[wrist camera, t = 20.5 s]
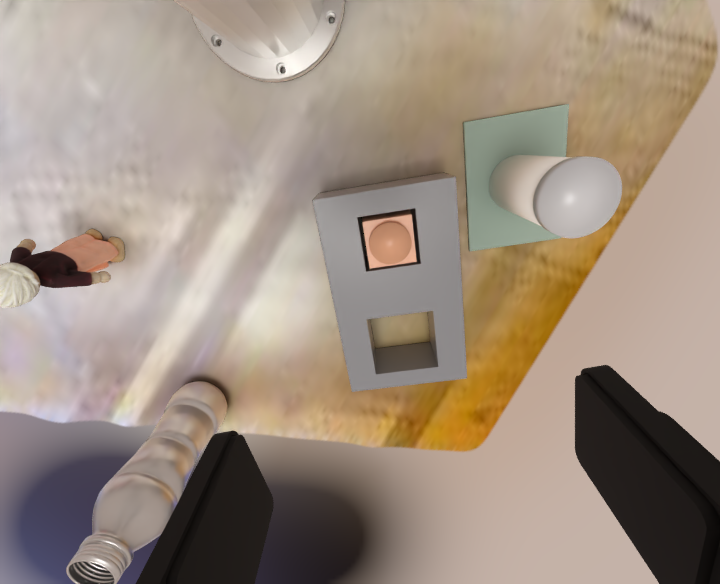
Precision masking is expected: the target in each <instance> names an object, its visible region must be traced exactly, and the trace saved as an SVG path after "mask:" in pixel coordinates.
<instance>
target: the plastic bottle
mask: <svg viewBox="0 0 720 584" xmlns="http://www.w3.org/2000/svg"><path fill="white" fill-rule="evenodd" d="M226 412H227V402H226V399H225V396H224V394H223V393H222V392H221V390H220V389H219V388H217V387H216V386H215V385H213V384H211V383H208V382H203V381H196V382H191V383H187V384H185V385H184V386H182V387H181V388H180V389H179V390H178V391H177V392H175V393H174V394H173V396H172V397H171V399H170V401H169V403H168V405H167V407H166V409H165V412H164V414H163V416H162V417H161V419H160V421H159V422H158V424H157V426H156V427H155V429H154V431H153V432H152V434H151V435H150V437H149V438H148V439H147V440H146V442H145V443H144V444H143V445H142V447H140V449H139V450H138V451H137V452H136V454H135V455H134V456H133V457H132V458H131V459H130V460H129V461H128V462H127V463H126V464H125V465H124V466H123V467H122V468H121V469H120V470H119V471H118V472H117V473H116V474H115V476H113V478H112V479H110V480H109V482H108V483H107V484H106V485H105V486H104V487H103V489H102V490H101V491H100V493H99V495H98V498H97V501H96V503H95V506H94V511H93V521H92V524H93V525H92V527H93V535H91V536H88V537H87V538H86V539H85V540H84V541H83V543H82V544H81V546H80V547H79V550H78V552H77V553H76V554H75V556H74V557H73V558H72V560H71V561H70V563H69V565H68V566H67V569H66V572H67V575H68V576H69V578H70V579H71V580H72V581H73V582H75V583H76V584H116V583H117V582H118V580H119V579H120V577H121V575H122V574H123V572H124V570H125V569H126V568H127V567H128V566H129V564H130V563H131V561H132V559H133V552H134V551H136V550H138V549H140V548H141V547H143V546H145V545H146V544H147V543H149V542H151V541H152V540H154V539H155V538H157V537H158V536H160V535H161V534H162V532H163V530H164V528H165V526H166V524H167V522H168V521H169V519H170V517H171V515H172V513H173V511H174V509H175V507H176V505H177V503H178V501H179V499H180V497H181V495H182V493H183V491H184V488H185V485H186V482H187V480H188V478H189V476H190V474H191V471H192V469H193V467H194V465H195V463H196V461H197V459H198V457H199V455H200V454H201V452H202V451H203V449H204V448H205V446H206V445H207V443H208V442H209V440H210V439H211V438H212V436H213V435H214V434H215V433H216V432H217V431H218V429H219V428H220V427H221V425H222V424H223V422H224V419H225V416H226Z"/></svg>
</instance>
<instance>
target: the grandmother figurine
mask: <svg viewBox="0 0 720 584" xmlns="http://www.w3.org/2000/svg"><path fill="white" fill-rule="evenodd" d="M102 240H103V237H102V235H101V233H100V232H98V231H97V230H95V229H89V230H88V231H87V232H86V233H85V234H83V235H81V236H78V237H75V238H73V239H70V240H67V241H65V242H64V243H62V244H61V245H59V246H57V247H55V248H54V249H52V250H51V251H45V252H42V253H37V254H34V255H32V254H31V253H32V251H33V249H35V247H36V244H35V242H34V241H33V240H31V239H24V240H22V241H21V243H20V244H19V245H18V246H17V247H16V248H15V249H13V251H12V254H11V258H10V263H5V264H2V265H0V307H2V308H12V307H16V306H20V305H22V304H25V303H27V302H30V301H31V300H32V299H33V298H34V297H35V296H36V295H37V294H38V292H39V288H40V285H41V286H45V287H51V288H63V287H77V286H89V285H91V284H97V283H99V282H102V283H105V282H108V281H109V280H110V278H111V277H110V274H109V273H108V272H106V271H101V272H99V273H96V272H95V271H99V270H102V269H104V268H107V267H108V266H109V265H108V261H112V262H121V261H123V260H124V258H125V251H124V243H123V241H122V240H121V239H119V238H116V237H110V238H109V239H108V241H107V242H106V241H102Z"/></svg>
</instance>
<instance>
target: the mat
mask: <svg viewBox="0 0 720 584" xmlns="http://www.w3.org/2000/svg"><path fill="white" fill-rule="evenodd" d="M568 110H569V104H566V105H560V106H555V107H549V108H543V109H537V110H532V111H526V112H520V113H515V114H509V115H503V116H498V117H492V118H486V119H480V120H475V121H469V122H464V123H463V133H464V154H465V176H466V198H467V220H468V242H469V251H476V250H483V249H489V248H496V247H503V246H510V245H517V244H524V243H531V242H537V241H544V240H551V239H558V238H561V237H560V236H558V235H555V234H553V233H551V232H549V231H547V230H546V229H544V228H543V227H542V226H540V225H538V224H535V223H533V222H531V221H529V220H527V219H525V218H522V217H520V216H518V215H516V214H514V213H512V212H509V211H507V210H505V209H503V208H501V207H499V206H498V205H496V204H495V203H494V201H493V200H492V198H491V196H490V193H489V180H490V177H491V174H492V172H493V171H494V169H495V168H496V166H497V165H498V164H499V163H500V162H502V161H503V160H504V159H506V158H508V157H511V156H514V155H535V156H553V157H566V146H567V128H568Z"/></svg>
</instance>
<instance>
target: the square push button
mask: <svg viewBox="0 0 720 584" xmlns="http://www.w3.org/2000/svg"><path fill="white" fill-rule="evenodd" d="M362 223H363V229H364V236H365V242H366V248H367V255H368V261H369V267H370V268H377V267H384V266H391V265H397V264H404V263H411V262H417V260H416V251H415V241H414V231H413V222H412V214H411V213H410V211H409V209H407V210H401V211H394V212H388V213H382V214H375V215H369V216H363V221H362Z"/></svg>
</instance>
